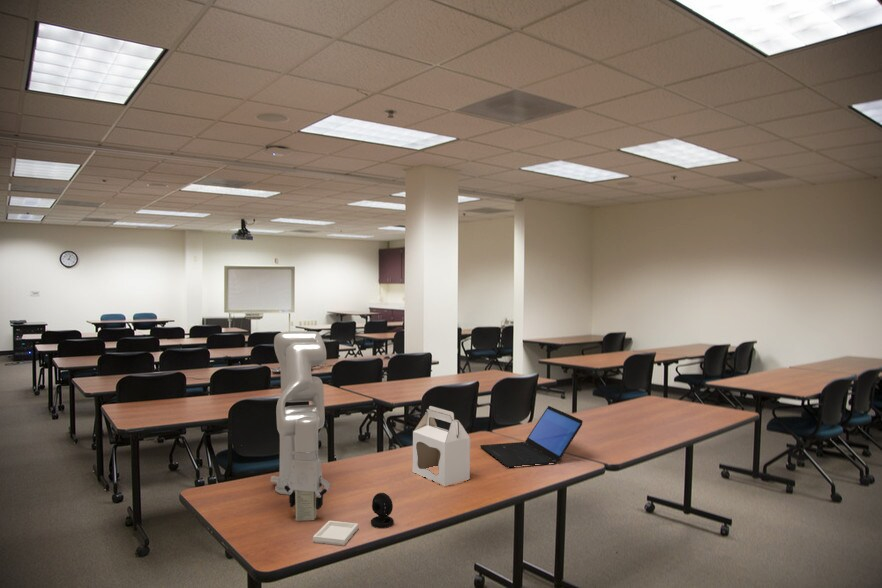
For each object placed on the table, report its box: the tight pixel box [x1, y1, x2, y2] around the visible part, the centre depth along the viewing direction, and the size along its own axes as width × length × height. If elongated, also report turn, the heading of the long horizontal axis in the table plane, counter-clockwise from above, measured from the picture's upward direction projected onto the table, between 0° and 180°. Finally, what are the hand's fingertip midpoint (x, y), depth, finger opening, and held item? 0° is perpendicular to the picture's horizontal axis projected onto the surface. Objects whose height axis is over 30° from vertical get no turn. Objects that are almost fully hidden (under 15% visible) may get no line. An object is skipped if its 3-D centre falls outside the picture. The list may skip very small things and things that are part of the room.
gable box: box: [412, 405, 471, 486], centre depth 229 cm, size 22×13×28 cm, turn 38°
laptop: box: [480, 405, 583, 468], centre depth 261 cm, size 33×38×19 cm
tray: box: [312, 520, 359, 547], centre depth 172 cm, size 10×12×2 cm
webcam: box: [370, 492, 395, 529], centre depth 182 cm, size 8×8×10 cm
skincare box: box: [294, 490, 317, 522], centre depth 185 cm, size 6×4×12 cm
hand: (305, 506), depth 185 cm, fingers open, 8 cm apart
